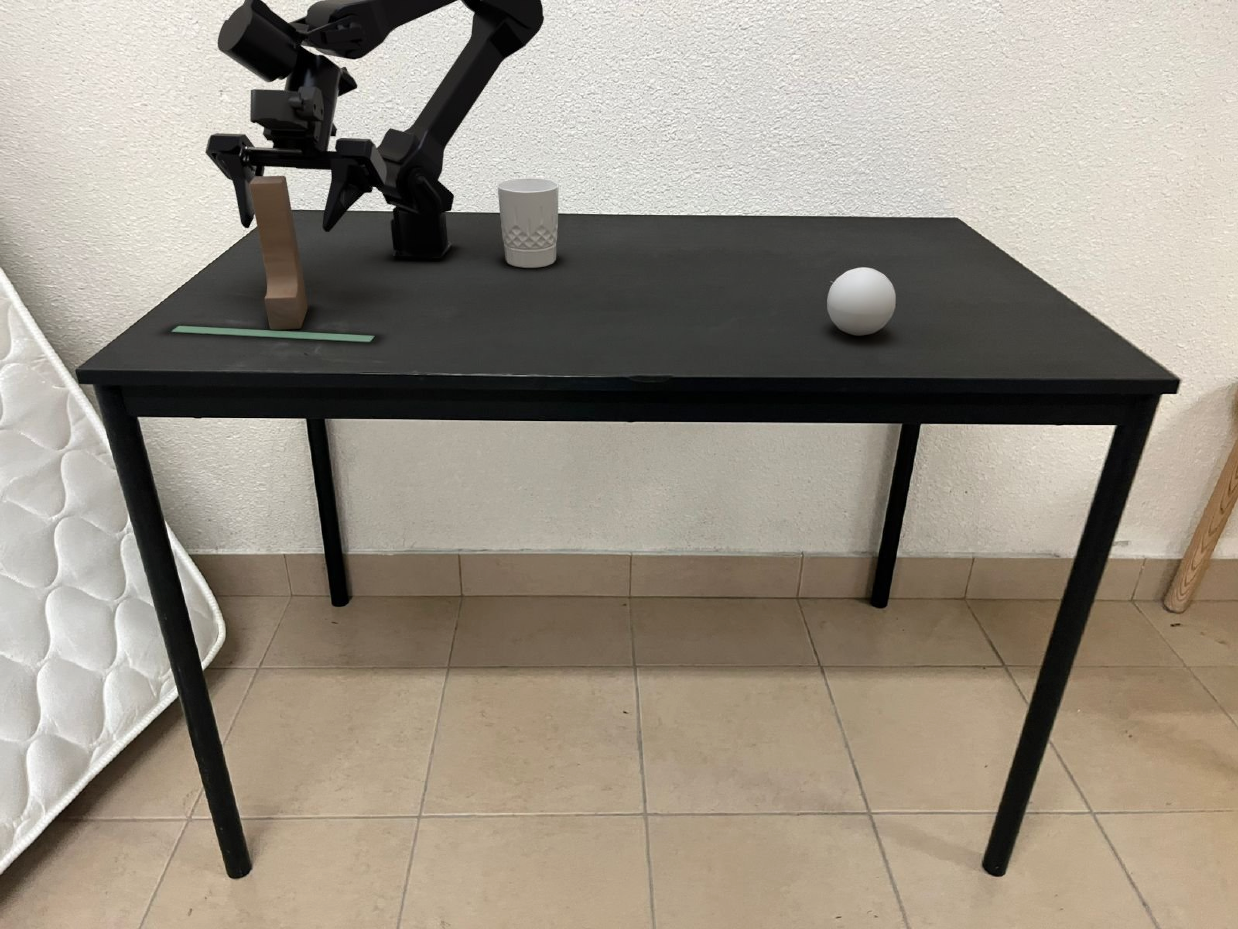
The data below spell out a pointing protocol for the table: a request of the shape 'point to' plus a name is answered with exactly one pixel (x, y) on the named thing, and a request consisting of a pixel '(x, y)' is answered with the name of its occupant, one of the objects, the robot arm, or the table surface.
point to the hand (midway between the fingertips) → (285, 228)
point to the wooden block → (279, 253)
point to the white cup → (529, 220)
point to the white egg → (861, 301)
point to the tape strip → (273, 334)
